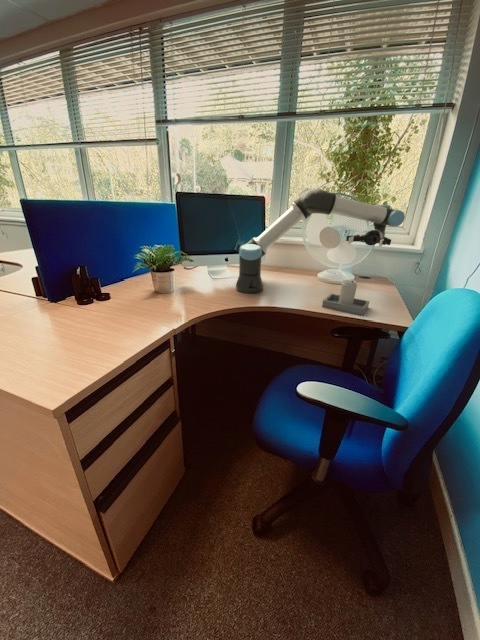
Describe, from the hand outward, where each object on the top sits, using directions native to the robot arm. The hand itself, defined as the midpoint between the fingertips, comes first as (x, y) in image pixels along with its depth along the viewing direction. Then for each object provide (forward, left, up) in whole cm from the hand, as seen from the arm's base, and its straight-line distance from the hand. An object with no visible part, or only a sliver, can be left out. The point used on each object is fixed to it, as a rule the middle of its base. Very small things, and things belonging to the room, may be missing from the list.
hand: (364, 242), depth 123 cm
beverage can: (0, -15, -28) cm, 31 cm away
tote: (0, -15, -28) cm, 32 cm away
